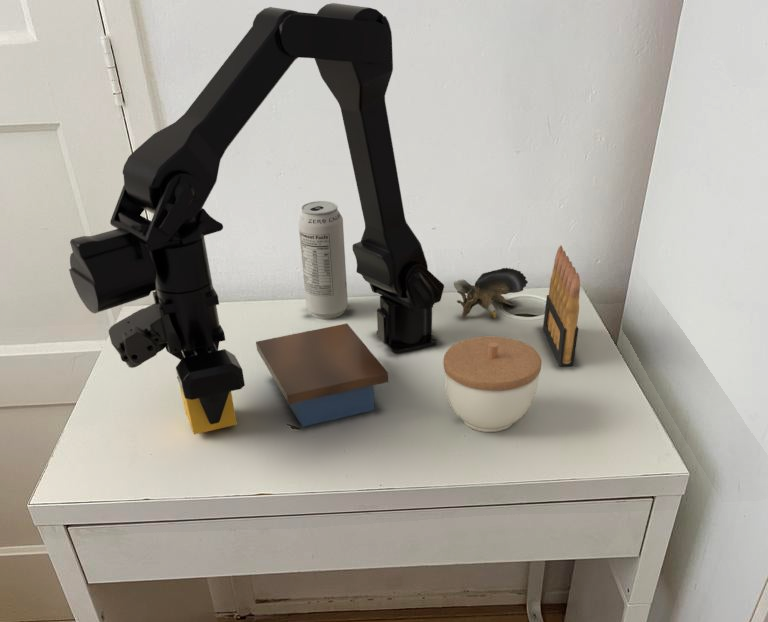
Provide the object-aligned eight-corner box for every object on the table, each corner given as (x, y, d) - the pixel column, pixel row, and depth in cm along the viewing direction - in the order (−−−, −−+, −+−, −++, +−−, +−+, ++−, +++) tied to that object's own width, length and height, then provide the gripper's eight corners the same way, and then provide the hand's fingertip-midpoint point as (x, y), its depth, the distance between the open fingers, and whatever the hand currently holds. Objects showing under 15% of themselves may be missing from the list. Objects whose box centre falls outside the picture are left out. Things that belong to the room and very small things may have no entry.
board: (347, 331, 100) (347, 323, 99) (388, 382, 90) (388, 372, 89) (256, 350, 97) (255, 341, 96) (288, 404, 87) (287, 395, 86)
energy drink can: (356, 310, 114) (351, 205, 105) (327, 324, 111) (319, 217, 101) (327, 299, 117) (319, 196, 108) (298, 313, 114) (287, 208, 104)
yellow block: (227, 403, 94) (220, 366, 90) (237, 424, 90) (230, 387, 87) (185, 413, 92) (177, 375, 89) (193, 434, 89) (185, 396, 85)
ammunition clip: (573, 366, 100) (586, 275, 92) (559, 366, 100) (571, 276, 92) (555, 328, 108) (566, 242, 100) (542, 329, 108) (552, 243, 100)
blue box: (341, 365, 102) (339, 337, 99) (374, 410, 93) (373, 380, 90) (274, 379, 99) (270, 351, 97) (302, 427, 90) (298, 397, 88)
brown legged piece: (487, 324, 107) (537, 296, 109) (465, 276, 105) (515, 248, 108) (461, 333, 114) (508, 306, 117) (440, 288, 112) (488, 262, 115)
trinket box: (449, 446, 87) (451, 371, 81) (436, 397, 95) (437, 325, 89) (544, 440, 87) (554, 365, 81) (523, 391, 95) (530, 319, 89)
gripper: (94, 263, 85) (128, 388, 95) (114, 335, 72) (152, 472, 82) (195, 246, 88) (218, 369, 98) (234, 312, 75) (255, 447, 85)
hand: (209, 411), depth 90 cm, fingers closed on yellow block, 5 cm apart
